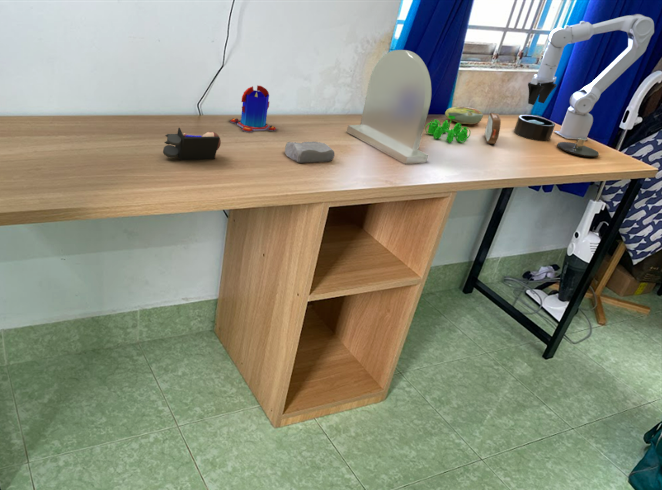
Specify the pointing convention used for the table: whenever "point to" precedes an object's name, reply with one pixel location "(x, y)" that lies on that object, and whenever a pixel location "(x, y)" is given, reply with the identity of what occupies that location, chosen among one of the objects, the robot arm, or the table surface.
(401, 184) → the table surface
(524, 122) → the black round container
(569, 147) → the lid
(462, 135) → the green bumpy cluster
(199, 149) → the character figurine
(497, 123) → the tin
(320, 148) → the stone block
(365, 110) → the award
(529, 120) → the block
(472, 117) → the cell model
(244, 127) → the fantasy tower
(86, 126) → the table surface
